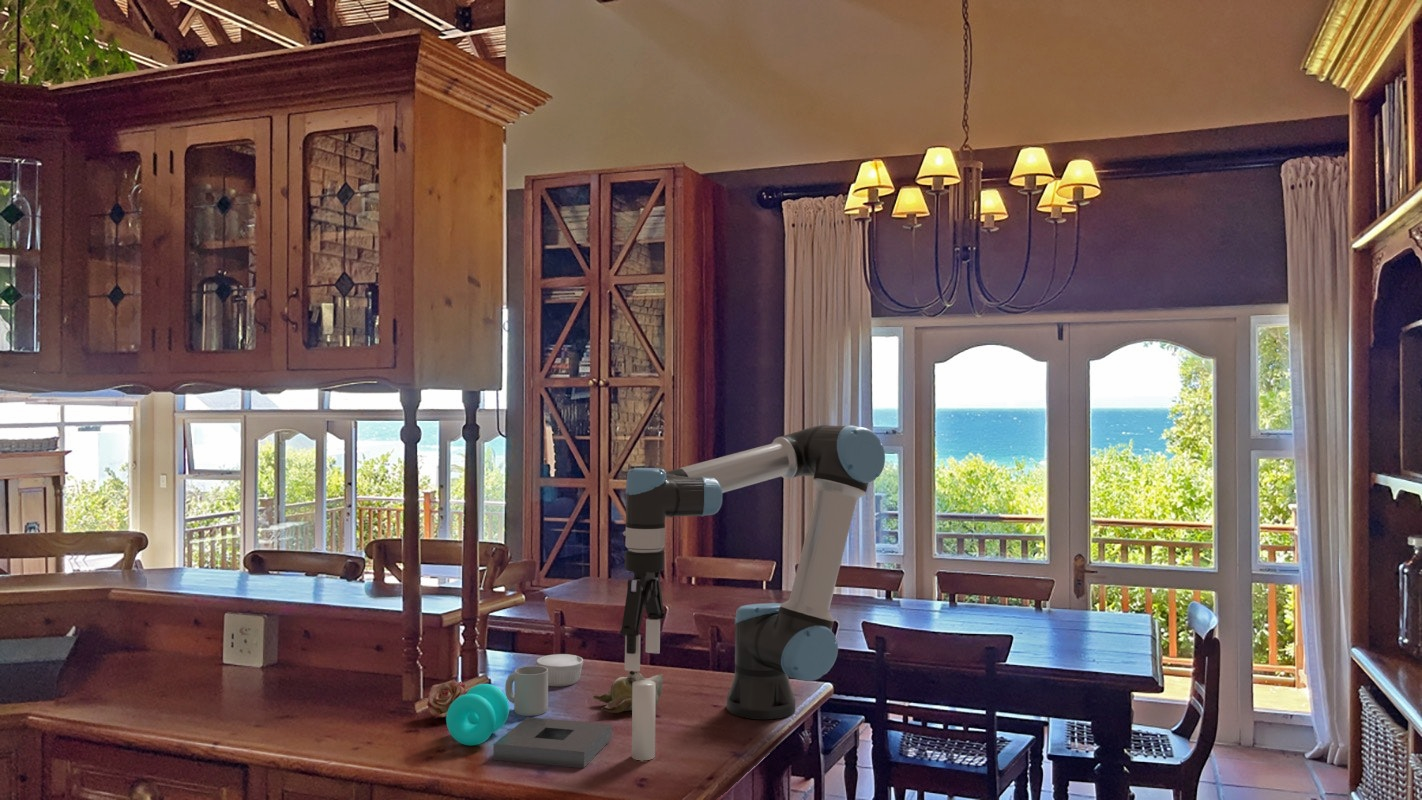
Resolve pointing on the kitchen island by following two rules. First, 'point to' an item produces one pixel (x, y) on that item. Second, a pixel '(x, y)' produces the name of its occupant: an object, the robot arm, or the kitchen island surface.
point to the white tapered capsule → (643, 719)
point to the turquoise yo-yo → (477, 714)
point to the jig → (553, 742)
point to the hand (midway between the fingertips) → (642, 661)
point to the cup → (528, 690)
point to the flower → (444, 697)
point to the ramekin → (562, 668)
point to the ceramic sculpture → (626, 692)
